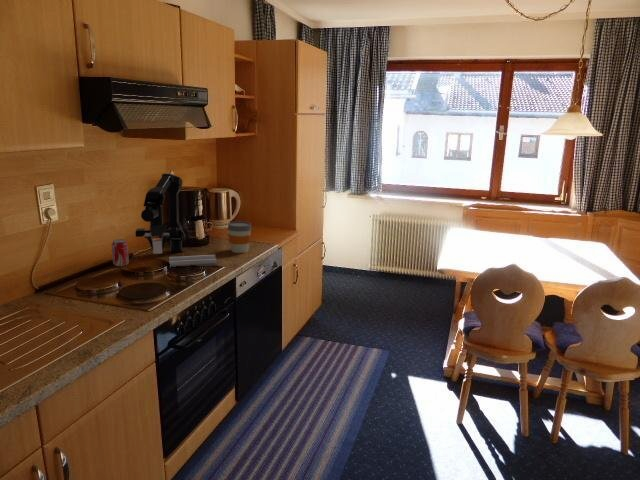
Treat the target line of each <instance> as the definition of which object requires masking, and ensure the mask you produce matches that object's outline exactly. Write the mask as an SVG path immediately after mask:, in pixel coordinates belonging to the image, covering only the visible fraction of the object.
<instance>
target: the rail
mask: <svg viewBox="0 0 640 480" xmlns="http://www.w3.org/2000/svg"><path fill="white" fill-rule="evenodd" d="M168 260H169V261H168V262H169V264H170V265H169V269H172V268H171V267H176V266H190V265H197V266H204V267H218V261H217V260H218V259H217V258H216V254H206V255H205V254H204V255H203V254H202V255H187V256H185V255H184V256H182V255H181V256H169V257H168Z"/></svg>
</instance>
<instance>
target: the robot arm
mask: <svg viewBox="0 0 640 480" xmlns="http://www.w3.org/2000/svg"><path fill="white" fill-rule="evenodd" d="M182 186H183V179H182V178H181V177H180V176H176V175H174V174H173V173H162V174H161V177H160V179H159V180H158V182H157V184H156V185H155V187H152V188H150V189H149V190H148V191H147V192H146V193H145V198H144V202H143V207H144V208H145V209H143V210H142V212H141V214H140V217H141V219H142V220H143V221H144V222H147V223H149V226H150V227H149V230H148V229H145V228H143V227H141V228H139V227H138V228H136V229H135V237H137V238H140V237H141V238H142V237H144V239H146V240H147V241H148V242H149V245H150V248H151V250H152V251H153V237H162V251H163V250H164V246H165V243H166V241H170V248H169V252H170V253H171V254H172V253H183V252H184V251H183V250H184V249H183V242H184V241H186V233H185V232H184V230H183V225H182V224H181V222H180V220H179V218H180V213H179V212H180V209H179V207H180V206H179V195H180V194H179V193H180V192H181V190H182V188H183V187H182ZM165 192H167V193H168V207H169V208H168V210H169V211H168V213H169V215H168V217H169V222H168V224H164V219H163V217H164V215H163V206H164V202H165V199H166V196H165Z"/></svg>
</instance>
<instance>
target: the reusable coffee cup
mask: <svg viewBox="0 0 640 480" xmlns="http://www.w3.org/2000/svg"><path fill="white" fill-rule="evenodd" d="M227 230H228V240H229V243H230V249H231V252H232V253H236V254H243V253H247V252H249V246H250V242H251V238H252V237H251V236H252V234H251V231H252V223H251V222H249V221H232V222H229V223H228V224H227Z"/></svg>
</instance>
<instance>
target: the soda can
mask: <svg viewBox="0 0 640 480" xmlns="http://www.w3.org/2000/svg"><path fill="white" fill-rule="evenodd" d="M111 256H112V265H114V266H116V267H125V265H126V266H127V265H128V264H129V246H128V242H127V240H126V239H124V238H120V239H119V238H118V239H114V240H112V243H111Z"/></svg>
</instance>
